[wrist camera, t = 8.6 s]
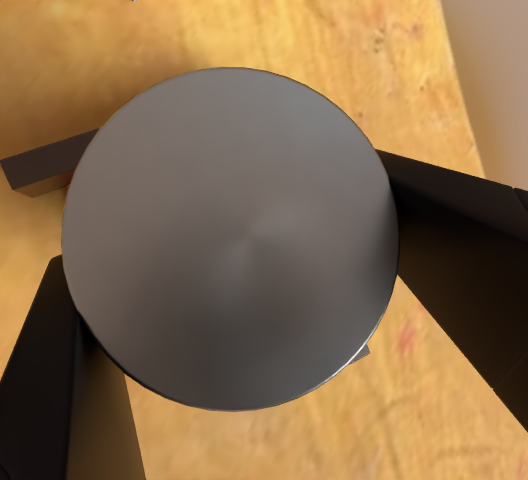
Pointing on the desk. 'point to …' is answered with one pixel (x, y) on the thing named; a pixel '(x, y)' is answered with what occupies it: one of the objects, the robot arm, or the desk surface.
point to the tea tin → (230, 239)
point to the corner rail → (57, 172)
